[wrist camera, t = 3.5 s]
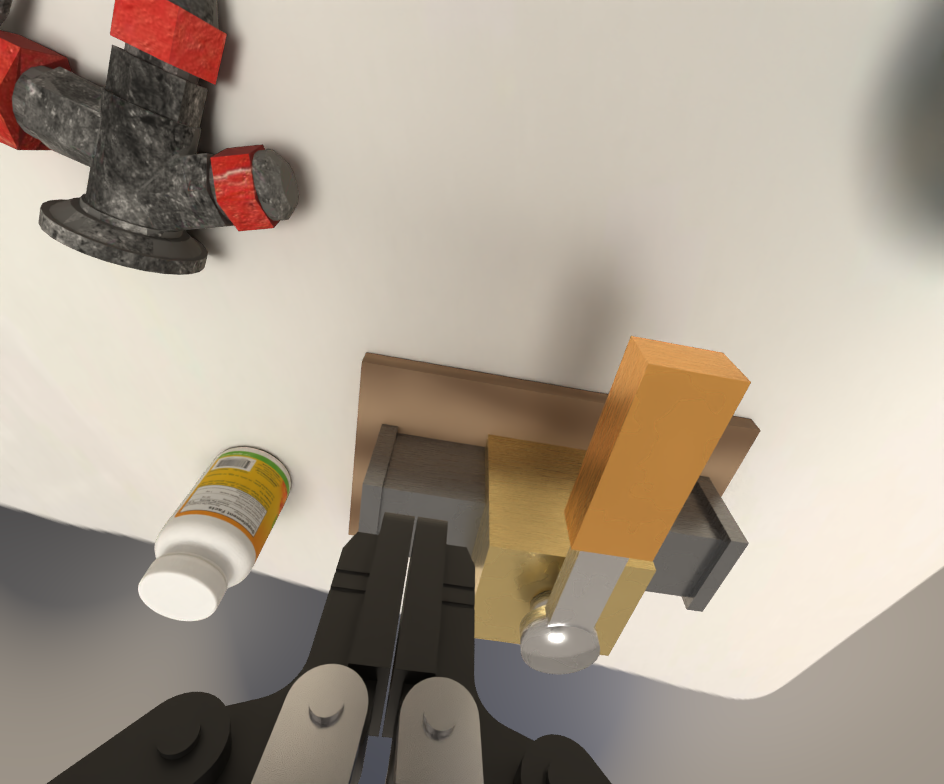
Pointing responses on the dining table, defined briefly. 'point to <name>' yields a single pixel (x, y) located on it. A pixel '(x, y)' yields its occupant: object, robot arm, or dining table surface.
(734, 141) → the dining table surface
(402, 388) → the walnut board
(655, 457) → the valve lever
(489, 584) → the valve and pipe
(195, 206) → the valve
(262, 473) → the supplement bottle
